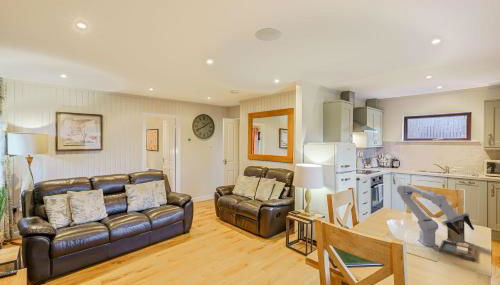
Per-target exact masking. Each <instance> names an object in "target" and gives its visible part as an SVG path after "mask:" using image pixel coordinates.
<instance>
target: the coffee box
mask: <svg viewBox="0 0 500 285" xmlns="http://www.w3.org/2000/svg"><path fill="white" fill-rule="evenodd" d="M452 224H453V226H454V227H455V228H456V229H457V230H458V232H459V233H460V235H458V234H457V233H456V232H455V231H453V230H452V229H450V228H448V227H447V241H450V242H454V243H458V242H460V243H465V221H464V219H460V220H457V221H455V222H452Z"/></svg>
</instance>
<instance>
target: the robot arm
mask: <svg viewBox="0 0 500 285" xmlns="http://www.w3.org/2000/svg"><path fill="white" fill-rule="evenodd" d="M396 192H397V194H399V196H400V198H401V200H402V201H403V203H404V204H405V205H406V206H407V207H408V208H409V210H410V211H411V212H412V214H414V216H415V217H416V218H417V224H418V225H419V228H420V230H419V238H418V241H419V242H420V243H421V244H422V245H423V246H426V247H439V245H438V244H436V232H437V230H438V229H439V225H438V222H437V221H436V220H434V219H432V217H430V216H427V214H425V213H424V211H423V210H422V209H421V208H420V207H419V206H418V204H416V202H415V201H414V200H413V198H412V196H413V194H417V195H421V197H422V198H423V199H425V200H428V201H431V203H432V204H434V205H436V206H437V207H438V209H440V210H441V211H442V213H443V214H444V215H445V216H446V217H447V219H445V220H444V221H441V224H442V225H443V226H446V228H447V229H448V228H450V229H452V230H453V231H455V232H456V233H457V234H458V235H460V233H459V232H458V230H457V229H456V228H455V227H454V226H453V224H452V222H455V221H457V220H460V219H464V223H465V224H467V225H468V226H469V228H470V229H471V230H472V231H474V230H475V227H474V226H473V224H472V222H471V219H470V214H469V213H468V212H464V213H460V214H458V213H457V211H456V210H455V209H454V208H453V207H452V206H451V205H450V203H449V202H448V201H447V198H446V195H444V194H442V193H437V192H433V191H431V190H430V189H424V190H423V189H421V188H419V187H417V186H414V184H410V183H409V184H399V185H398V186H397V187H396Z"/></svg>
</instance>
